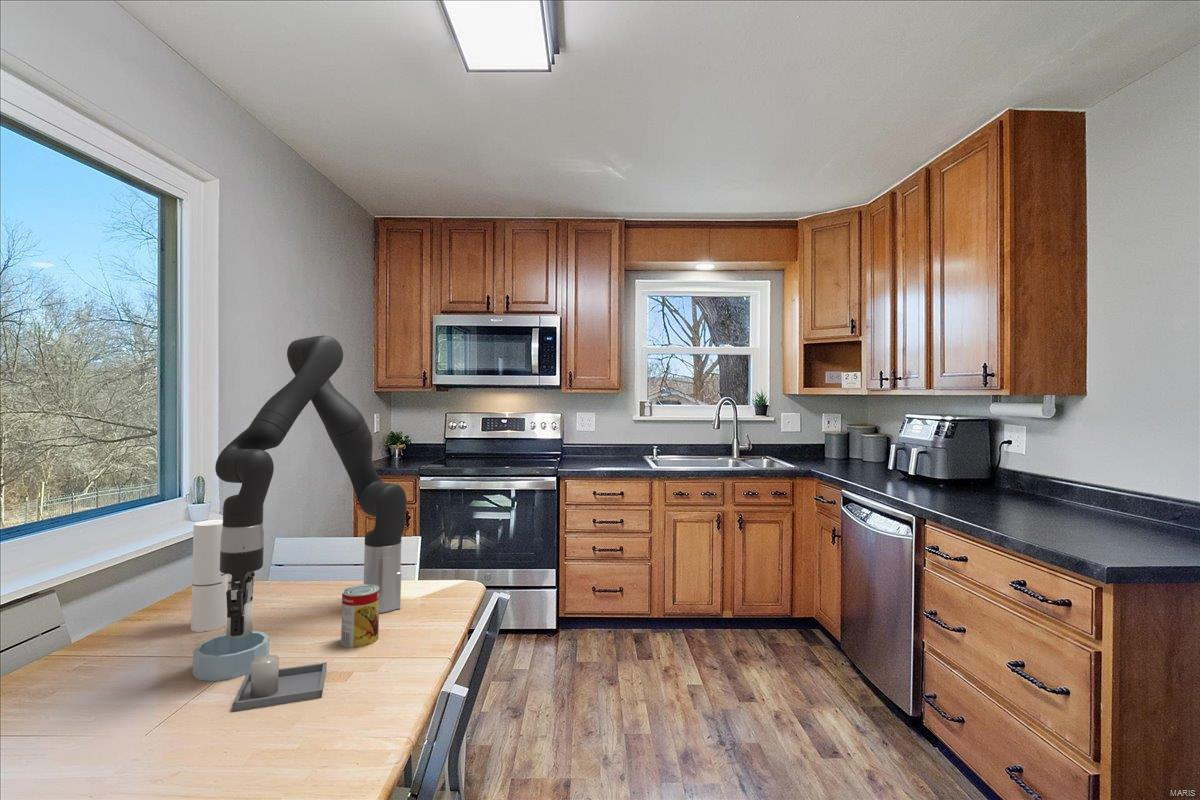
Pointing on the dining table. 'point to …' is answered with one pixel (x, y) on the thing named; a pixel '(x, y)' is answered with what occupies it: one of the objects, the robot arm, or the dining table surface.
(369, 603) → the canned food
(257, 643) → the bowl
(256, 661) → the white cylinder
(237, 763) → the dining table surface
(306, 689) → the tray
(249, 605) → the white glass cylinder
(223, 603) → the cylindrical container
